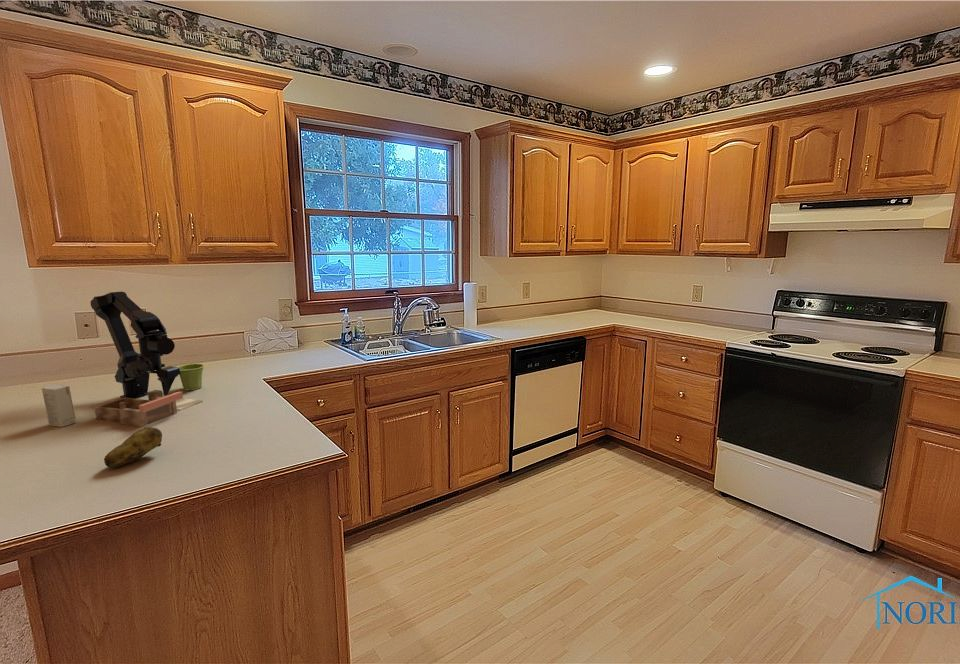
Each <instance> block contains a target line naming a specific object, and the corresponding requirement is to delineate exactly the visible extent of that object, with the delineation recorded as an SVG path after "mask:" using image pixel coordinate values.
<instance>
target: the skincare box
mask: <svg viewBox="0 0 960 664" xmlns="http://www.w3.org/2000/svg"><path fill="white" fill-rule="evenodd" d="M41 391H42V397H43V401H44V406H45V411H46V416H47V421H48V425H49V426H52V427H60V428H63V427H65V426H69V425H72V424H75V423H77V418H76V413H75V408H74V404H73V399H72V392H71V389H70V385H65V384H64V385H63V384H53V385H48V386H45V387H42V388H41Z"/></svg>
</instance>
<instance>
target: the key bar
mask: <svg viewBox="0 0 960 664" xmlns="http://www.w3.org/2000/svg"><path fill="white" fill-rule="evenodd" d="M164 396H165V397H162V398H159V399H156V400H153V401H150V402H147V403H145V404H142V405H139V412H145V411H148V410H151V409H154V408H156V407H159V406H162V405H164V404H167V403H170V402H173V401H175V400H178V399H181V398H183V392H182V391H177V392H174V393H171V394H168V395H164Z"/></svg>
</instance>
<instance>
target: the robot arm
mask: <svg viewBox="0 0 960 664" xmlns="http://www.w3.org/2000/svg"><path fill="white" fill-rule="evenodd" d="M90 307H91V309H92V310H93V311H94V313H95V315H96V316H97V317H98V318H100V319H102V320H103V321H104V322H105V325H106V327H107V329H108V332H109V334H110V337H111V339H112V341H113V344H114V346H115V348H116V349H115V350H116V351H117V353H118V356H119V358H118V361H117V370H116V372H115V375H114V379H115V382H116V383H120V384H122V386H121V387H122V391H123V392H122V393H123V394H122V395H120V396H119V399H121V398H125V397H126V398H135V399H138V398H139V397H142V396H146V395H148V392H149V383H150V375H151V374H155V375H156V376H157V377H158V378H157V380H158V381H159V382H160V383H161V388H162V394H163V396H167V395H169V392H170V390H171V388H172V386H173V383H174V381H175V379H176V378H177V377H179V376H180V375H179V374H181V373H180V368H178V367H179V366H172V365H169V366H166V365H165V363H162V357H163V356H164V355H170V354H171V353H172V352H174V350H175V348H176V347H175V346H176V345H175V342H174V341H173V339H171V338H169V337H168V335H167V334H168V332H167V329H166V327H165V326H164V325H163V323H162V321H161V319H160V318H159V317H158V315H156V314H154V313H153V312H150V311H147V310H146V311H145V310H144V309H142V308H140V306H138V304H137V303H135V302H134V301H133V300H132V299H131V298H130V297H129V296H128V295H127V293H126V291H111V292H107V293H105V294H104V295H98V296H97V295H96V296H94V297H93V299H92V298H91V300H90ZM121 313H122V314H123V315H124V316H125V317H126V318H127V319H129V321H130V327H131V328H132V330H133V331H134V332H135V333H136V335H135V336H134V337H135V338H136V339H137V341H138V347H139V348H138V349H139V353H138V352H137V351H135V348H134V345H133V344H132V341H131V338H130V336H129V334H128V331H127V329H126V327H125V324H124V322H123V319H122V317H121Z"/></svg>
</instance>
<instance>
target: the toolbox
mask: <svg viewBox="0 0 960 664" xmlns="http://www.w3.org/2000/svg"><path fill="white" fill-rule="evenodd" d="M152 394H153V398H152V400H149V399H141V398H126V397H125V398H119V399H116V400H113V401H112V400H111V401H109V402H107V403H104V404H99V405H98V406H95V407H94V411H95V417H96V420H102V421H108V422H109V421H110V422H115V423H117V422H118V423H120V425H124V426H125V425H127V426H133V427H140V428H141V427H142V428H145V427H147V425H148V424H152V423H154V422H156V421H159V420H162V419H165V418H167V417H169V416H172V415H176V414H178V410H177V407H176V400H175V401H173V402H170V403H167V404H164V405H162V406H159V407H156V408H154V409H151V410H148V411H145V412H139V405H142V404H145V403H147V402H150V401H153V400H156V399H159V398H162V397H159V396H158V391H154V392H152Z"/></svg>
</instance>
